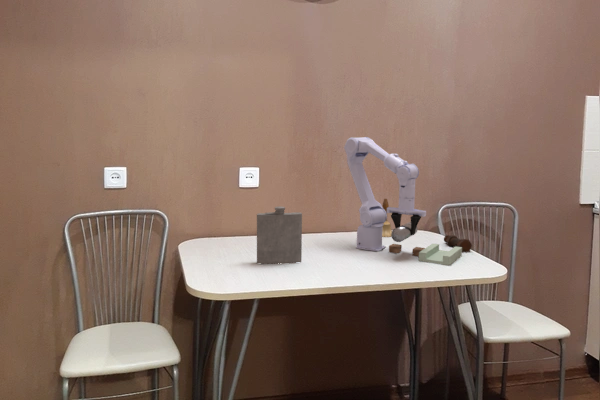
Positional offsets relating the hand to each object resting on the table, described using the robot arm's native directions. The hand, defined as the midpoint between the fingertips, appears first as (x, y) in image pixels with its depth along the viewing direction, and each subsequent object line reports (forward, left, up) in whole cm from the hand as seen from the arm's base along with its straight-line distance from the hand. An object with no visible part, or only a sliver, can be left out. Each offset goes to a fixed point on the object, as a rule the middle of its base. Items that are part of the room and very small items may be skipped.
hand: (405, 233), depth 211 cm
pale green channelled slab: (+12, +4, -8) cm, 16 cm away
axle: (0, -1, +1) cm, 1 cm away
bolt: (+13, +24, -9) cm, 28 cm away
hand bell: (-20, +29, -9) cm, 36 cm away
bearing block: (-1, +4, -8) cm, 9 cm away
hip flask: (-34, -33, -9) cm, 48 cm away
